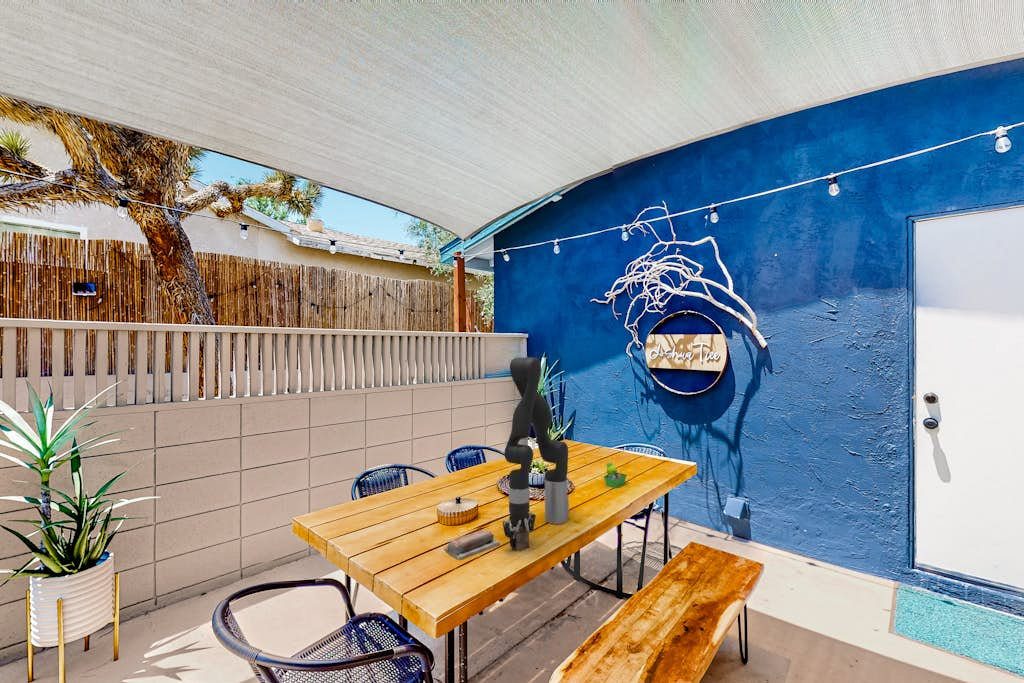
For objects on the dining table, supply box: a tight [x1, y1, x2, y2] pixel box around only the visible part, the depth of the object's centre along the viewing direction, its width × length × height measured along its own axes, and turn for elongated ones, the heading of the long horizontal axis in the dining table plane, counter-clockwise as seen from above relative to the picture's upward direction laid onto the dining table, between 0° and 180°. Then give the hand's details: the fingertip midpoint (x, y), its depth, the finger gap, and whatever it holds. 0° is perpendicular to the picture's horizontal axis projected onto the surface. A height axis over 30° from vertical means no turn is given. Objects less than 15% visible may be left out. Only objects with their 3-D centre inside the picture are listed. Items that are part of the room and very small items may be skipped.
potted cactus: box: [603, 462, 628, 489], centre depth 226 cm, size 11×9×11 cm
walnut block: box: [509, 527, 530, 552], centre depth 157 cm, size 5×5×6 cm
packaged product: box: [443, 529, 501, 561], centre depth 157 cm, size 18×5×10 cm
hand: (519, 545), depth 157 cm, fingers closed on walnut block, 5 cm apart
